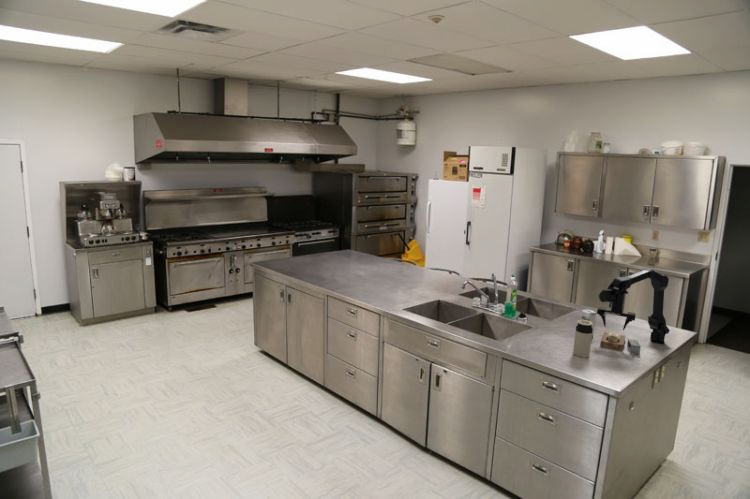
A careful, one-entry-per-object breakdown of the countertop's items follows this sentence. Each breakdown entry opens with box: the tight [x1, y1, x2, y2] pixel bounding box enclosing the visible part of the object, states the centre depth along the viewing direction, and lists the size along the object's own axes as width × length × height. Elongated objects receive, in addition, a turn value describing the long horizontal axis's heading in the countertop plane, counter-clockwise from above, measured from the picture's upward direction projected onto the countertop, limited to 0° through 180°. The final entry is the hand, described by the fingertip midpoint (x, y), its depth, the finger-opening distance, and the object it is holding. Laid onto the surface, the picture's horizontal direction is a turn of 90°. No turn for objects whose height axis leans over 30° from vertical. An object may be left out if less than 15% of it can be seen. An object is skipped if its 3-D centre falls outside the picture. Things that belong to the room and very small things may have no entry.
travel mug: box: [572, 319, 593, 359], centre depth 254 cm, size 8×8×18 cm
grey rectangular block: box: [626, 338, 642, 356], centre depth 263 cm, size 4×9×5 cm, turn 163°
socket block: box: [599, 331, 626, 352], centre depth 273 cm, size 11×17×3 cm, turn 149°
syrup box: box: [580, 309, 597, 337], centre depth 283 cm, size 6×6×14 cm
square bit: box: [608, 332, 620, 342], centre depth 270 cm, size 4×4×6 cm
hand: (614, 328), depth 269 cm, fingers open, 9 cm apart
